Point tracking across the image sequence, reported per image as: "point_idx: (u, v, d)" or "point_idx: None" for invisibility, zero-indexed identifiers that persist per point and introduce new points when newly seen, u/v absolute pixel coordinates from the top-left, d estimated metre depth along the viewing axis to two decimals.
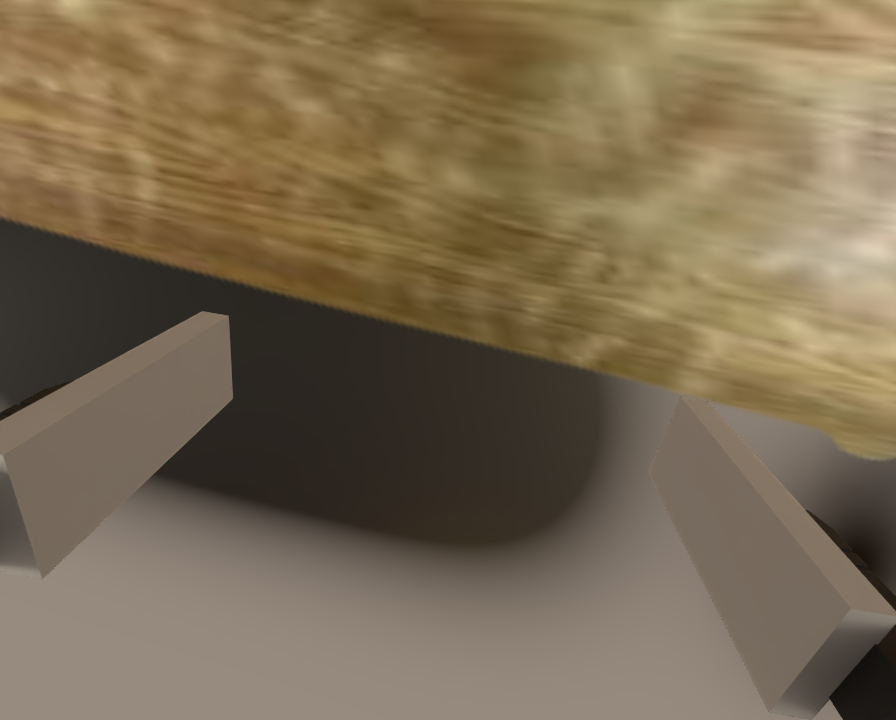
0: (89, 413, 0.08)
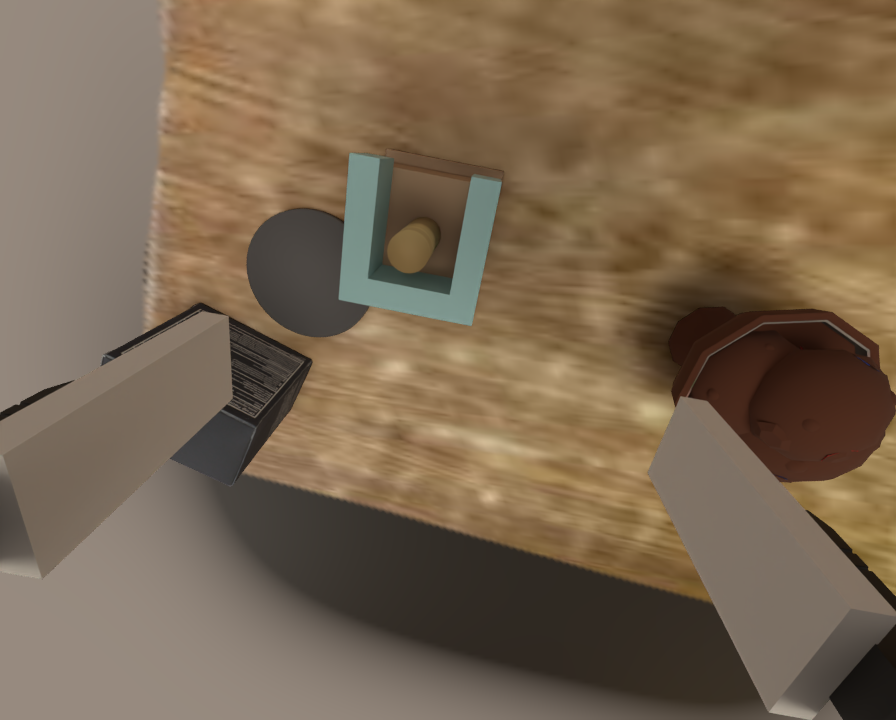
0: (89, 413, 0.08)
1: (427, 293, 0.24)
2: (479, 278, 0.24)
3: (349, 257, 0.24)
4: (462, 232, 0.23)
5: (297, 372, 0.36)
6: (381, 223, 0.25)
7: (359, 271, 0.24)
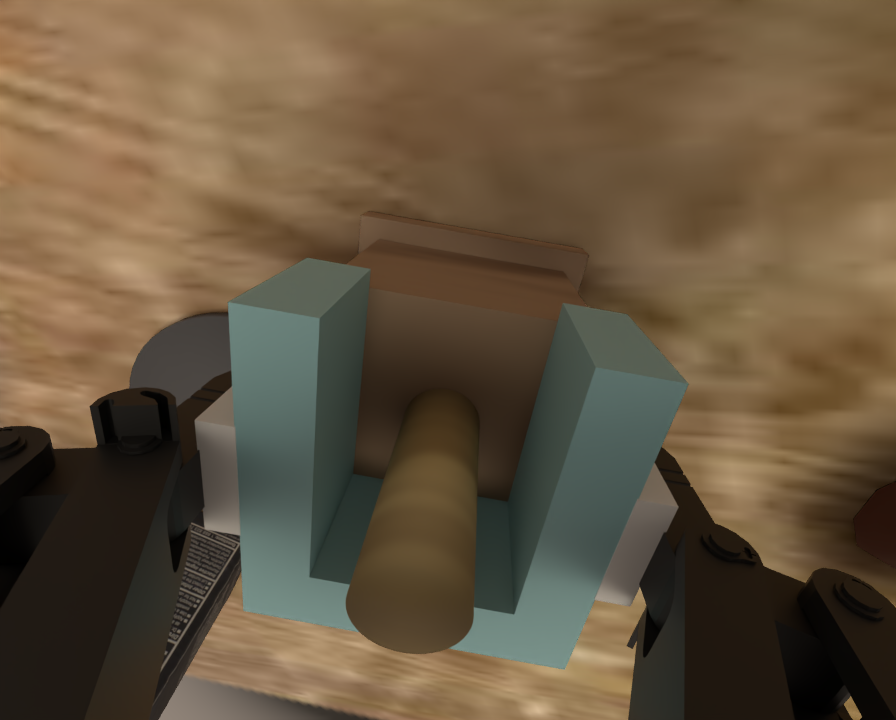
0: None
1: None
2: (594, 588, 0.09)
3: (259, 536, 0.09)
4: (557, 495, 0.08)
5: (226, 574, 0.22)
6: (343, 424, 0.10)
7: (287, 563, 0.10)
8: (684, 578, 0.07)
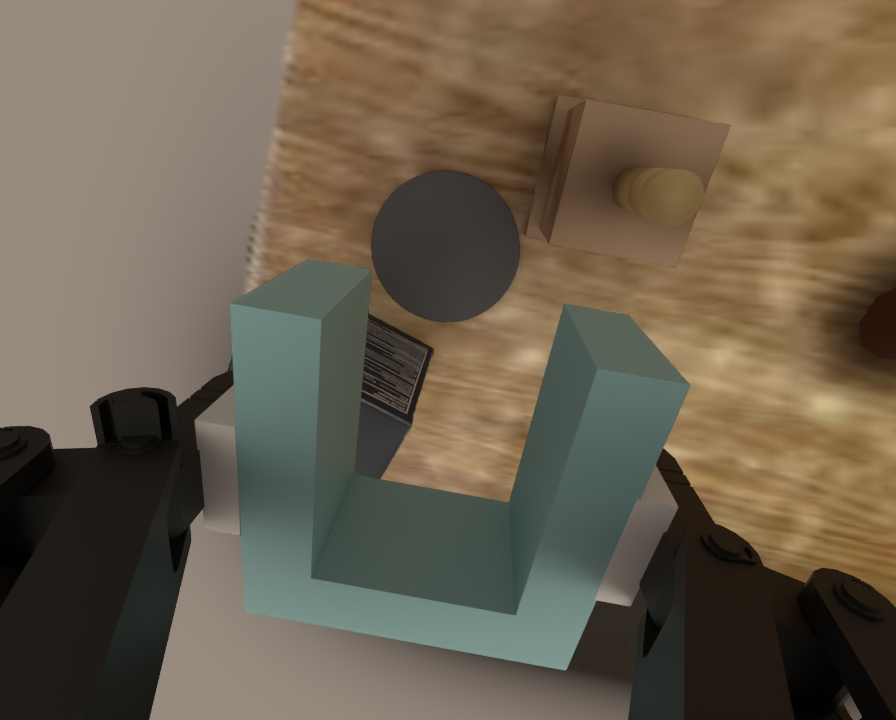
0: None
1: (459, 609, 0.10)
2: (595, 589, 0.09)
3: (260, 537, 0.09)
4: (558, 496, 0.08)
5: (426, 362, 0.32)
6: (344, 425, 0.10)
7: (288, 564, 0.10)
8: (684, 578, 0.07)
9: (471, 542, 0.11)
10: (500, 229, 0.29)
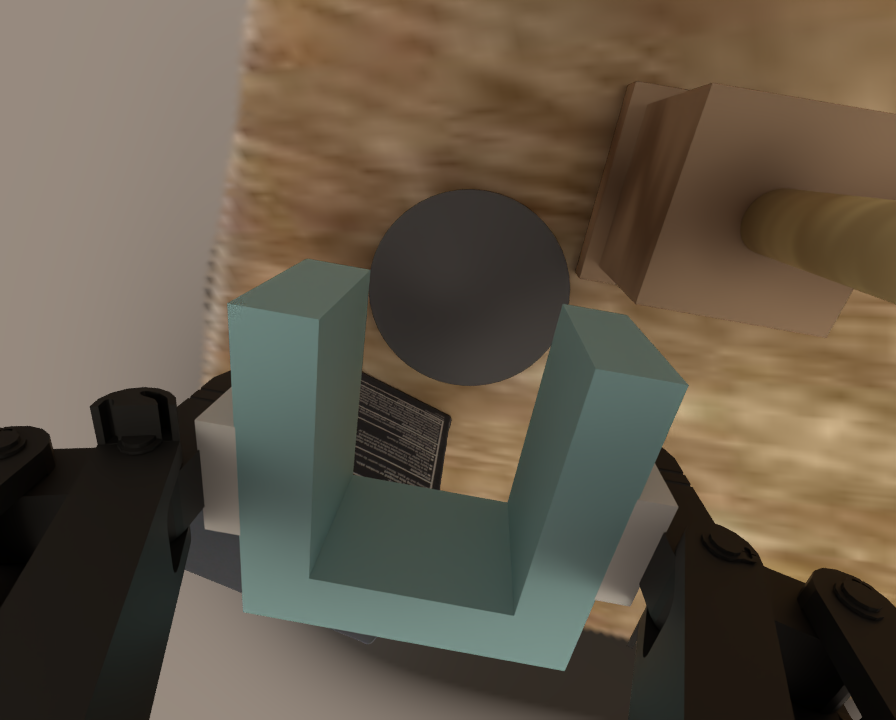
0: None
1: (457, 610, 0.10)
2: (593, 589, 0.09)
3: (258, 537, 0.09)
4: (556, 496, 0.08)
5: (443, 441, 0.24)
6: (342, 425, 0.10)
7: (287, 564, 0.10)
8: (684, 578, 0.07)
9: (470, 542, 0.11)
10: (544, 267, 0.22)
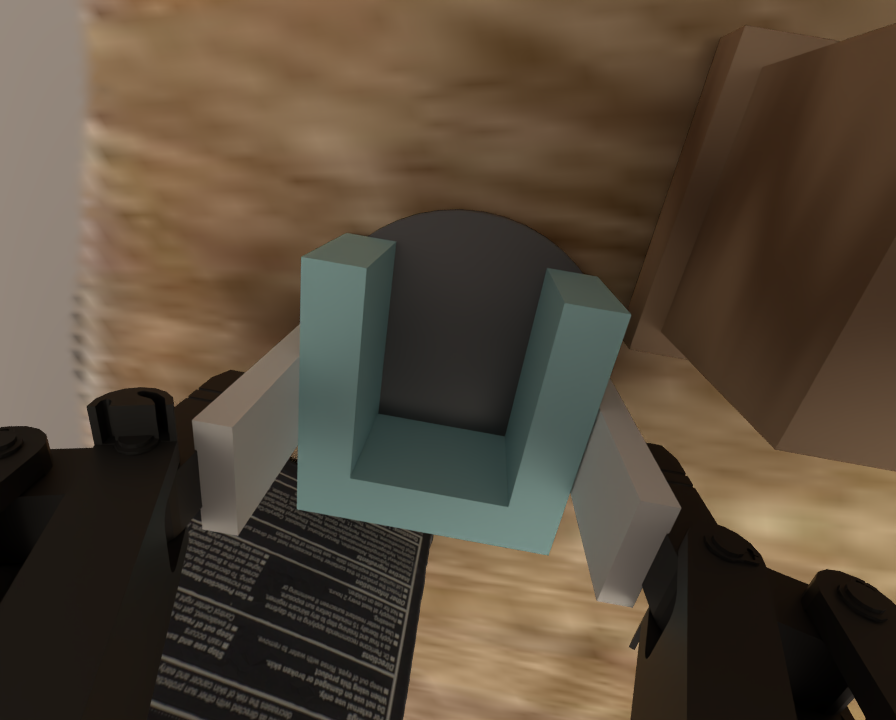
0: (270, 396, 0.10)
1: (465, 503, 0.13)
2: (569, 482, 0.12)
3: (313, 443, 0.12)
4: (539, 405, 0.11)
5: (419, 577, 0.16)
6: (374, 363, 0.13)
7: (333, 466, 0.13)
8: (687, 579, 0.07)
9: (474, 461, 0.14)
10: None
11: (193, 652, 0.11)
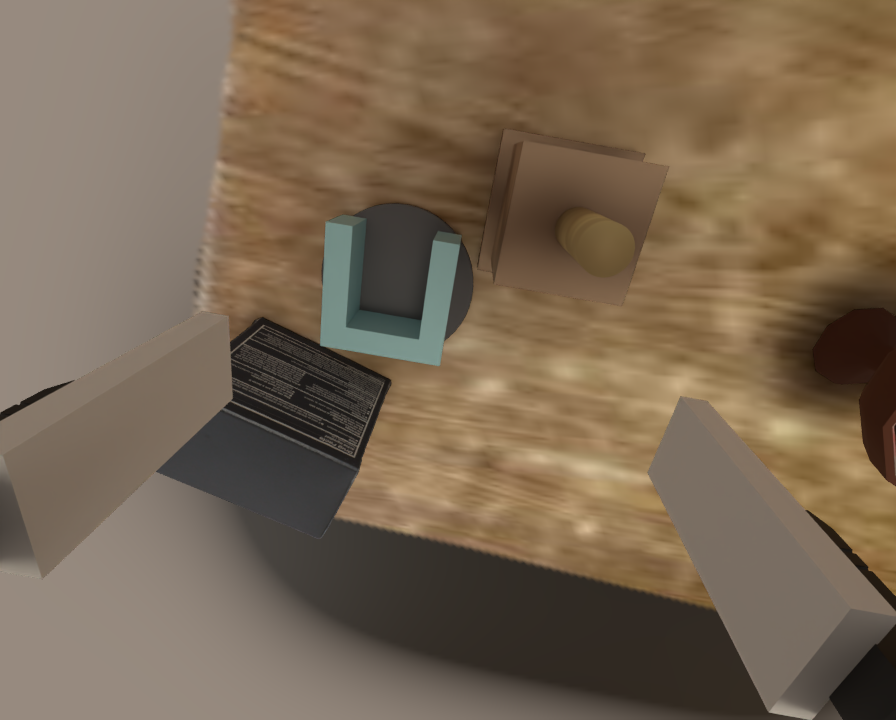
0: (89, 413, 0.08)
1: (399, 338, 0.27)
2: (444, 325, 0.27)
3: (328, 309, 0.27)
4: (427, 286, 0.26)
5: (381, 396, 0.31)
6: (356, 276, 0.28)
7: (338, 321, 0.27)
8: None
9: (406, 327, 0.29)
10: None
11: (278, 394, 0.26)
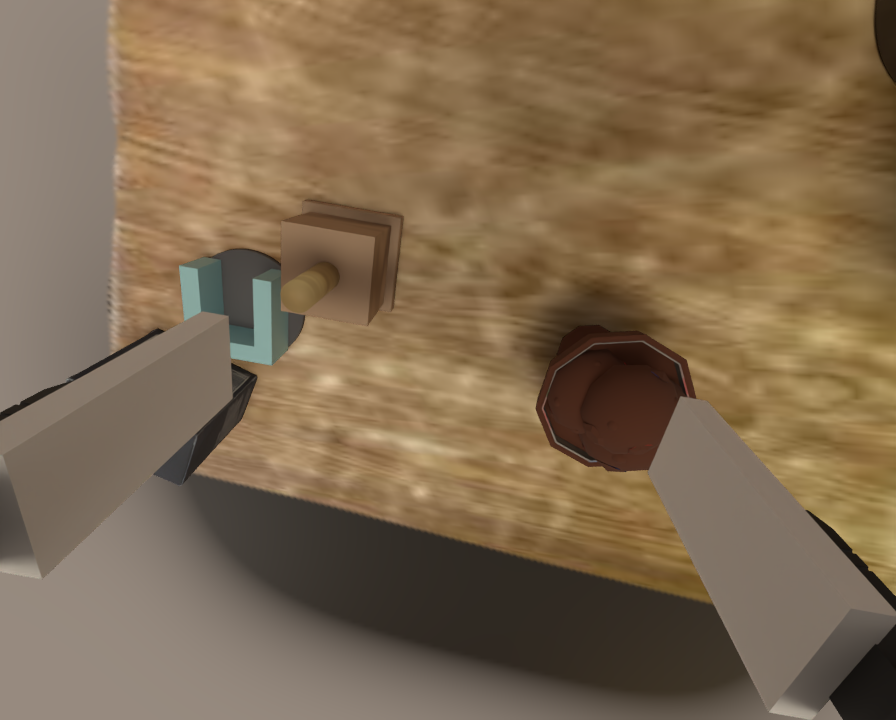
0: (89, 413, 0.08)
1: (240, 345, 0.39)
2: (270, 336, 0.38)
3: None
4: (254, 310, 0.37)
5: (241, 387, 0.42)
6: (213, 301, 0.39)
7: None
8: None
9: (252, 337, 0.40)
10: None
11: None
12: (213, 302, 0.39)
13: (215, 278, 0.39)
